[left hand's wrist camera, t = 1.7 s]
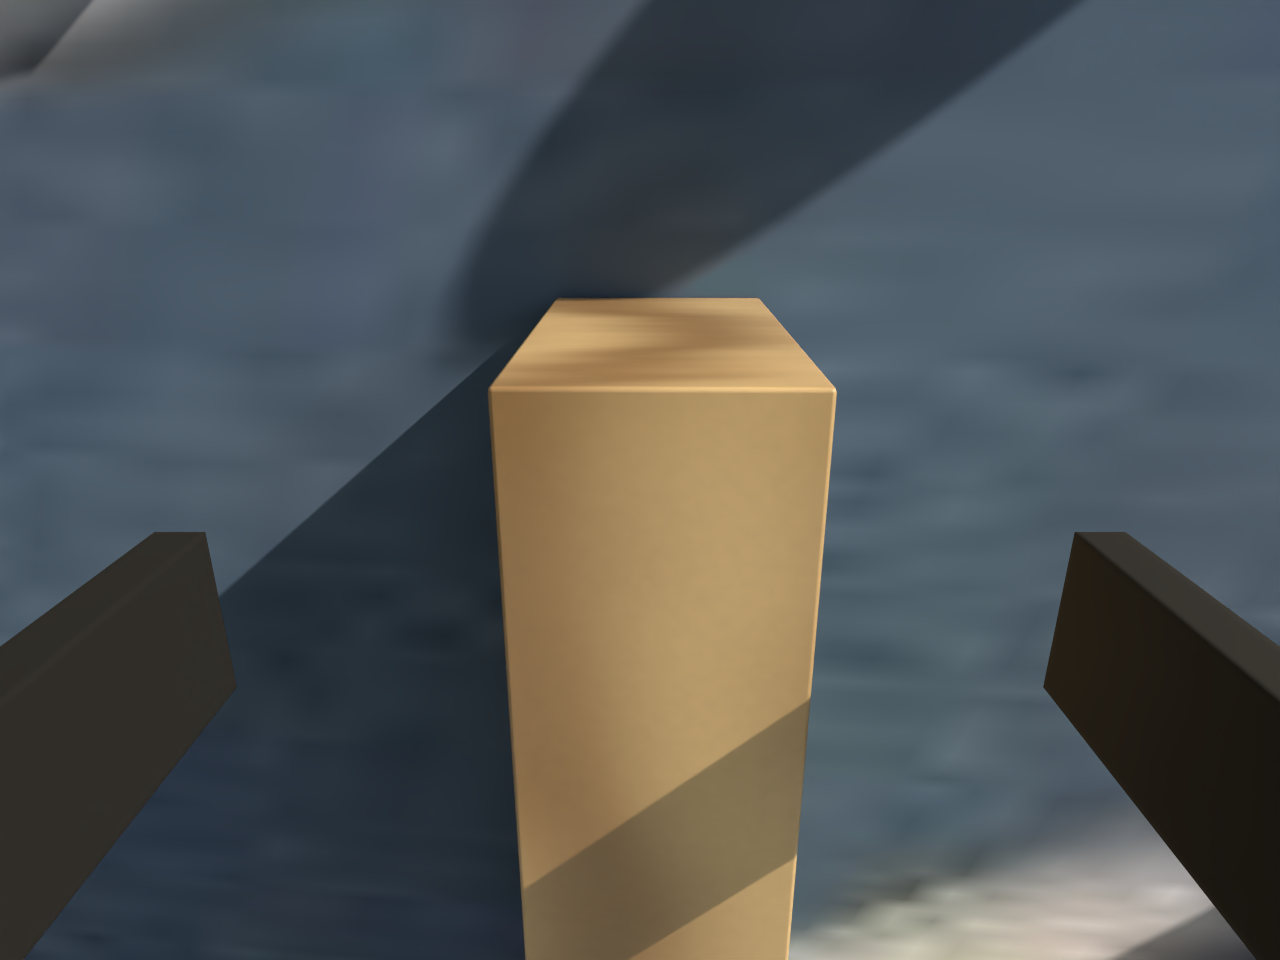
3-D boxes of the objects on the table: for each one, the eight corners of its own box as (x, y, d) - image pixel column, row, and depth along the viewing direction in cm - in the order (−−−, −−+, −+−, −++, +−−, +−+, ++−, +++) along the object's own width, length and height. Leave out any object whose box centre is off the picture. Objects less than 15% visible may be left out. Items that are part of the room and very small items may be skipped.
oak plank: (760, 297, 20) (838, 388, 12) (722, 1041, 29) (751, 1394, 21) (555, 297, 20) (485, 386, 12) (581, 1039, 29) (553, 1390, 21)
